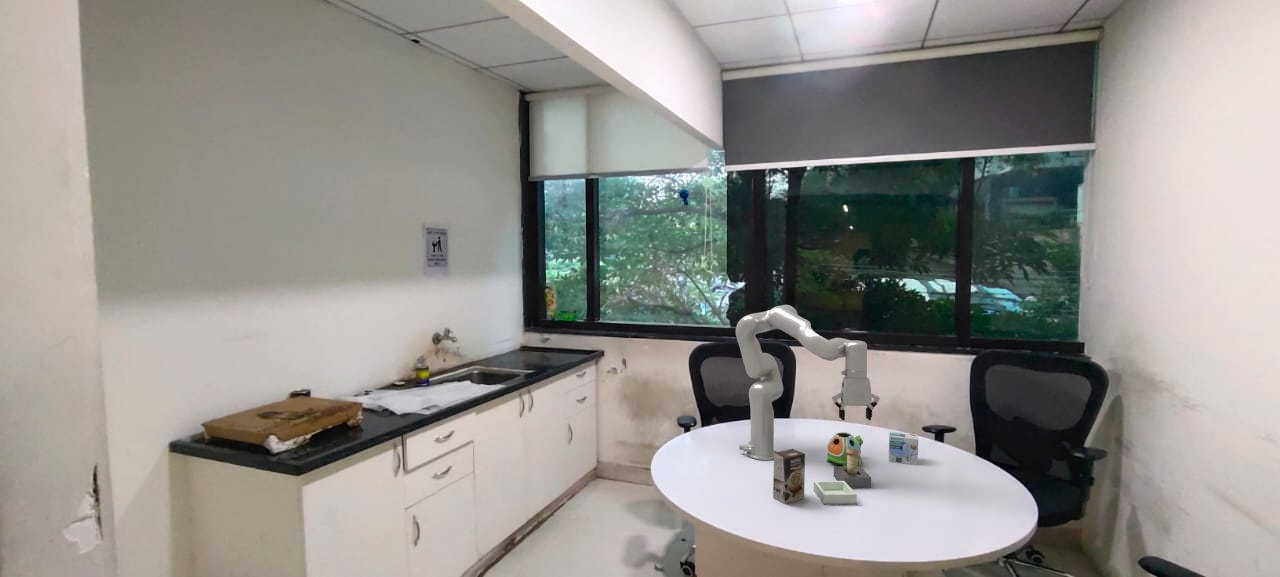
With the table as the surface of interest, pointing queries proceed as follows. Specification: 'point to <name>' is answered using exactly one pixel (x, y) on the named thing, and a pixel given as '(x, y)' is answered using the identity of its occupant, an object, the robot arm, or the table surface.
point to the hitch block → (853, 477)
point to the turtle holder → (843, 447)
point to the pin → (852, 461)
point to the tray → (834, 492)
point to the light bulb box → (903, 448)
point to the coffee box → (789, 475)
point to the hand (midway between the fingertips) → (855, 419)
